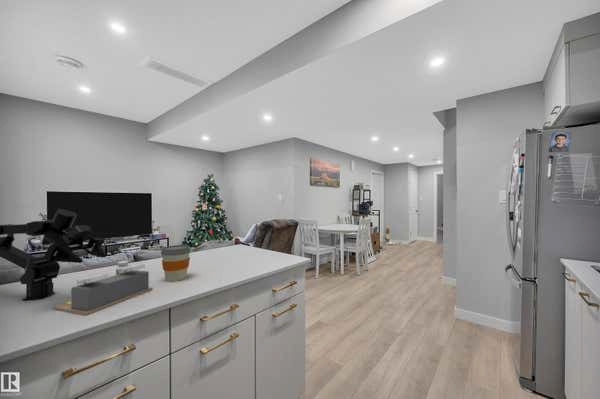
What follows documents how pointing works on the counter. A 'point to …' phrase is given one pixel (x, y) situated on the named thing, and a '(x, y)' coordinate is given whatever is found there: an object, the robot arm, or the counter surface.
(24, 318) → the counter surface
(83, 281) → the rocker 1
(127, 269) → the rocker
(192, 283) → the counter surface
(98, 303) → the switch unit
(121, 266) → the supplement bottle
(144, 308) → the counter surface
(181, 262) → the reusable coffee cup
